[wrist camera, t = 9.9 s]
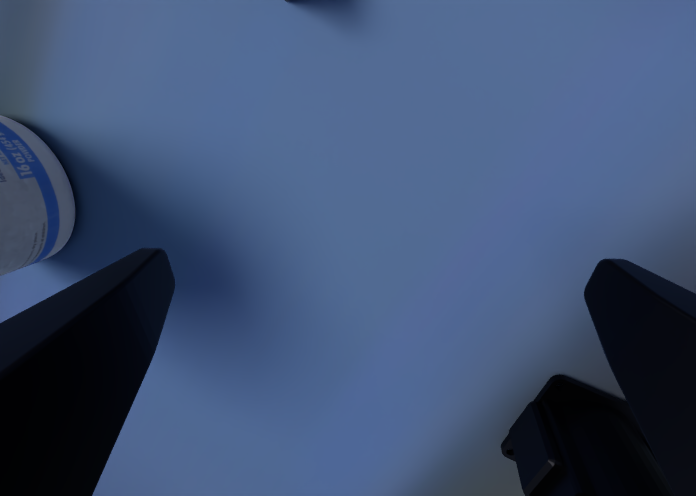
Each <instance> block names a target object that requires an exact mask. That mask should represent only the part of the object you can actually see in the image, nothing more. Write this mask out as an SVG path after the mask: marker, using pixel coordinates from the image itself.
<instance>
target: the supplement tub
mask: <svg viewBox="0 0 696 496" xmlns="http://www.w3.org/2000/svg"><path fill="white" fill-rule="evenodd" d="M74 222H75V202H74V197H73V192H72V188H71V185H70V182H69V180H68V177H67V175H66V173H65V171H64V169H63V167H62V165H61V164H60V162H59V160H58V159H57V157H56V156H55V155H54V153H53V152H52V151H51V149H50V148H49V147H48V146H47V145H46V144H45V143H44V142H43V141H42V140H41V139H40V138H39V137H38V136H37V135H36V134H35V133H33V132H32V131H31V130H29V129H28V128H26V127H25V126H23V125H22V124H20V123H18V122H16V121H14V120H12V119H10V118H7V117H4V116H1V115H0V276H2V275H4V274H7V273H9V272H12V271H15V270H17V269H20V268H23V267H26V266H28V265H31V264H34V263H36V262H39V261H41V260H44V259H47V258H49V257H51V256H52V255H54V254H56V253H57V252H58V251H60V250H61V249H62V248H63V247H64V245H65V244H66V243H67V241H68V240H69V238H70V236H71V233H72V231H73V227H74Z"/></svg>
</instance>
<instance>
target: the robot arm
mask: <svg viewBox="0 0 696 496" xmlns="http://www.w3.org/2000/svg"><path fill="white" fill-rule="evenodd" d="M174 289H175V279H174V275H173V272H172V269H171V266H170V263H169V260H168V257H167V254H166V252H165V251H164V250H163V249H161V248H141V249H139V250H137V251H135V252H133V253H131V254H130V255H128V256H126V257H124V258H122V259H120V260H118V261H116V262H114V263H113V264H111V265H109V266H107V267H105V268H103V269H101V270H99V271H98V272H96V273H94V274H92V275H90V276H88V277H86V278H84V279H83V280H81V281H79V282H77V283H75V284H73V285H71V286H69V287H67V288H66V289H64V290H62V291H60V292H58V293H56V294H54V295H52V296H51V297H49V298H47V299H45V300H43V301H41V302H39V303H37V304H36V305H34V306H32V307H30V308H28V309H26V310H24V311H22V312H21V313H19V314H17V315H15V316H13V317H11V318H9V319H7V320H5V321H4V322H2V323H0V496H92V495H93V492H94V490H95V488H96V486H97V483H98V481H99V479H100V476H101V474H102V472H103V470H104V467H105V465H106V463H107V461H108V458H109V456H110V454H111V452H112V449H113V447H114V445H115V442H116V440H117V438H118V436H119V433H120V431H121V429H122V427H123V424H124V422H125V420H126V418H127V415H128V413H129V411H130V408H131V406H132V404H133V402H134V399H135V397H136V395H137V393H138V390H139V388H140V386H141V384H142V381H143V379H144V377H145V374H146V372H147V370H148V368H149V365H150V363H151V361H152V358H153V356H154V353H155V350H156V347H157V345H158V341H159V338H160V335H161V332H162V329H163V325H164V322H165V319H166V316H167V312H168V309H169V306H170V303H171V299H172V296H173V293H174ZM584 298H585V302H586V304H587V307H588V310H589V312H590V315H591V318H592V321H593V323H594V326H595V329H596V331H597V334H598V337H599V339H600V342H601V345H602V348H603V350H604V353H605V355H606V358H607V360H608V363H609V365H610V367H611V369H612V372H613V374H614V376H615V378H616V380H617V382H618V384H619V386H620V388H621V390H622V392H623V394H624V396H625V398H626V400H627V402H628V403H626V402H624V401H622V400H619V399H617V398H615V397H612V396H610V395H608V394H605V393H603V392H601V391H598V390H596V389H594V388H591V387H589V386H587V385H584V384H582V383H580V382H577V381H575V380H573V379H570V378H568V377H566V376H563V375H555V376H552V377H551V378H550V379H549V381H548V382H547V383H546V385H545V386H544V387H543V389H542V390H541V391H540V393H539V394H538V395H537V397H536V398H535V399H534V401H532V402H530V403H529V404H528V405H527V407H526V408H525V410H524V411H523V412H522V414H521V415H520V416H519V418H518V419H517V420H516V422H515V423H514V424H513V426H512V427H511V428H510V430H509V434H508V436H507V437H506V438H505V440H504V441H503V442H502V444H501V450H502V454H503V455H504V456H505V457H507V458H509V459H511V460H513V461H516V464H517V468H518V473H519V477H520V481H521V486H522V490H523V492H524V494H525V496H696V294H695V293H693V292H691V291H689V290H687V289H685V288H683V287H681V286H679V285H677V284H675V283H673V282H670V281H668V280H666V279H664V278H662V277H660V276H658V275H656V274H654V273H652V272H650V271H648V270H646V269H644V268H642V267H640V266H638V265H636V264H634V263H632V262H629V261H627V260H624V259H603V260H601V261H600V262H599V263H598V264H597V266H596V268H595V270H594V272H593V273H592V275H591V277H590V279H589V281H588V283H587V285H586V287H585V291H584ZM558 383H563V385H561V386H556V385H557V384H558ZM508 449H512V450H508Z"/></svg>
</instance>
